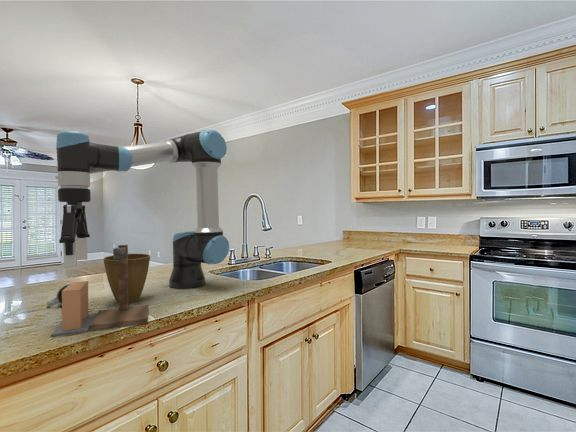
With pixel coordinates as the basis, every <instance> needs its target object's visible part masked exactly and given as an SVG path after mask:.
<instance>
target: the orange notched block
mask: <svg viewBox="0 0 576 432" xmlns="http://www.w3.org/2000/svg"><path fill="white" fill-rule="evenodd" d="M71 282H72V283H71V284H70V285H68V286H67V287H66V288H65V289H64V290H63V291H62V305H61V313H62V316H61V322H62V331H64V330H71V329H79V328H81V327H82V319H86V318H87V317H88V314H89V281H88V280H86V281H84V280H83V281H71Z"/></svg>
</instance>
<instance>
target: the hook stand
mask: <svg viewBox="0 0 576 432" xmlns="http://www.w3.org/2000/svg"><path fill="white" fill-rule="evenodd" d="M128 248H129V244H120V245H119V244H118V247H115V248H112V249H113V251H112V253H113V255H112V256H113V259H118V268H119V303H118V307H117V308H109V309H106V308H105V309H99V310H98V311H97V312H96V313H97V314H96V316H95V318H94V319H93V321H92V323H91V325H90V329H89V331H90V332H93V331H95V332H96V331H102V330H110V329H115V328H116V329H117V328H125V327H131V326H138V325H146V324H147V325H148V322H149V321H148V319H149V304H145V305H135V306H129V303H128V254H129V251H128V250H129V249H128Z"/></svg>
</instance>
